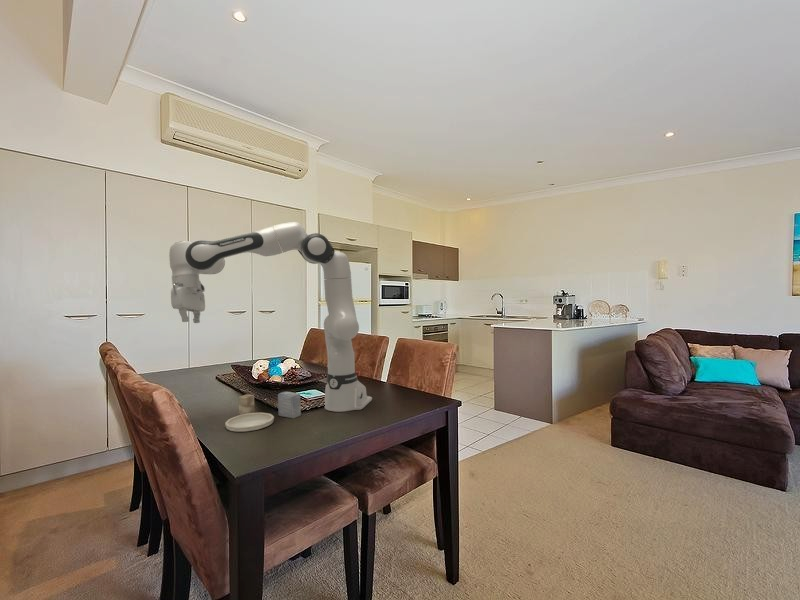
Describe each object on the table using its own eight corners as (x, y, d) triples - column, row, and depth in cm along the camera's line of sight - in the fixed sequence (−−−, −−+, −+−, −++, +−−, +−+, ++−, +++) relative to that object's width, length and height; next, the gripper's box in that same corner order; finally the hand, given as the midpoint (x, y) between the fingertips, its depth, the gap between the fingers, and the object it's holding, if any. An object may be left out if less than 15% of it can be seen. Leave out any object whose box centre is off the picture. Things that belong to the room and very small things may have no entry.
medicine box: (301, 415, 148) (300, 393, 148) (292, 419, 144) (292, 396, 144) (286, 412, 152) (286, 391, 152) (277, 416, 148) (277, 393, 148)
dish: (250, 415, 150) (250, 410, 150) (282, 420, 143) (282, 415, 143) (215, 428, 135) (215, 424, 135) (249, 435, 129) (249, 430, 129)
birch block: (247, 411, 155) (246, 394, 154) (254, 412, 153) (254, 395, 153) (239, 414, 151) (238, 396, 151) (246, 415, 149) (246, 397, 149)
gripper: (182, 279, 131) (188, 319, 130) (206, 287, 151) (210, 322, 150) (163, 282, 130) (168, 322, 129) (189, 290, 150) (194, 325, 149)
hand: (191, 322), depth 140 cm, fingers open, 8 cm apart
